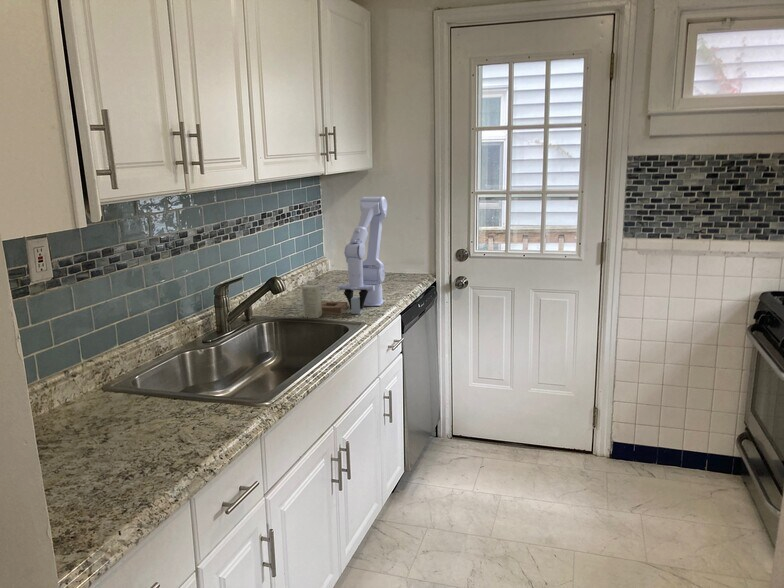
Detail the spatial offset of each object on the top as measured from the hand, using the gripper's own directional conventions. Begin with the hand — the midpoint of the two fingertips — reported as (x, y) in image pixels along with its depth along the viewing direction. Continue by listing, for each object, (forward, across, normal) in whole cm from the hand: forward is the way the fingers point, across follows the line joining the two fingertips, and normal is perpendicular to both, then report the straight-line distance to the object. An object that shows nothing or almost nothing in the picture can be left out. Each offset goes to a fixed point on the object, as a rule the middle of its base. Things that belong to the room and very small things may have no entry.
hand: (356, 308), depth 252 cm
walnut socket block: (+2, -12, +2) cm, 12 cm away
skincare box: (+2, -16, -8) cm, 18 cm away
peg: (+2, 0, 0) cm, 2 cm away
